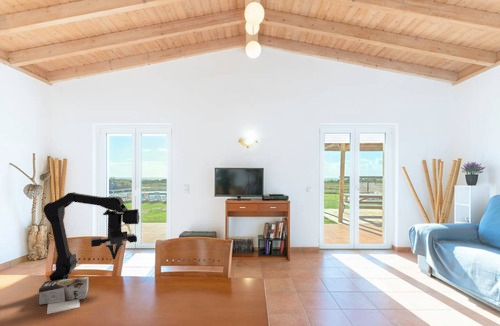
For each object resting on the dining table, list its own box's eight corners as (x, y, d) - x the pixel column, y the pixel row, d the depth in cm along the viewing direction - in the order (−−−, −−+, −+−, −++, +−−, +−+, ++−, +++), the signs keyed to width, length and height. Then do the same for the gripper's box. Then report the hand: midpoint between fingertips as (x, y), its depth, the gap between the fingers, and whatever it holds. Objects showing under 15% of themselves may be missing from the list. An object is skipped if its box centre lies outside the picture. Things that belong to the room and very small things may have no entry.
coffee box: (85, 283, 119) (38, 289, 113) (85, 299, 119) (37, 305, 113) (88, 276, 127) (44, 280, 121) (88, 290, 127) (44, 296, 121)
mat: (48, 300, 118) (48, 299, 118) (78, 294, 124) (78, 294, 124) (46, 314, 106) (46, 313, 106) (79, 307, 112) (79, 306, 112)
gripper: (93, 229, 120) (91, 267, 120) (139, 225, 131) (139, 260, 130) (90, 225, 130) (89, 260, 129) (134, 222, 140) (134, 254, 139)
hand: (113, 259), depth 132 cm, fingers closed
